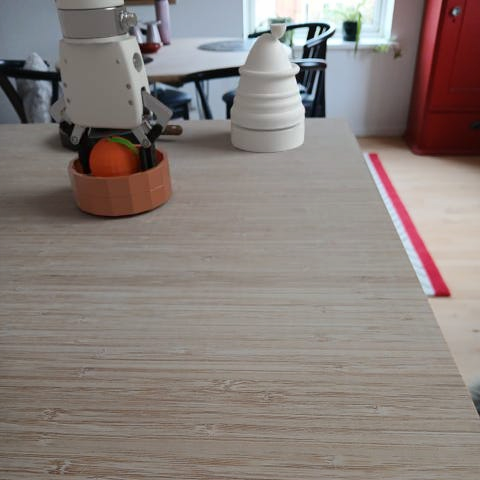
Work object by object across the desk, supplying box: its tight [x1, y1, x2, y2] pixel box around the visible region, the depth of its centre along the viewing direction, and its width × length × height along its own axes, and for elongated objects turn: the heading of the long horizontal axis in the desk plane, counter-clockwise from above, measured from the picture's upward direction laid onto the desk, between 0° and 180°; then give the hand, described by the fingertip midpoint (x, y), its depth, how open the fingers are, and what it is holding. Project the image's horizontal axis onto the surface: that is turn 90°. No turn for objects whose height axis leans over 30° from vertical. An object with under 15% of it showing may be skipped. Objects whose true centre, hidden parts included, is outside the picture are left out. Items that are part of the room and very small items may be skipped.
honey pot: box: [229, 22, 306, 153], centre depth 85 cm, size 13×13×18 cm
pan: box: [58, 118, 184, 152], centre depth 94 cm, size 23×16×3 cm
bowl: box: [66, 144, 173, 217], centre depth 71 cm, size 13×13×6 cm
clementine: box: [89, 136, 141, 177], centre depth 69 cm, size 8×7×7 cm
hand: (119, 171), depth 70 cm, fingers closed on clementine, 8 cm apart
